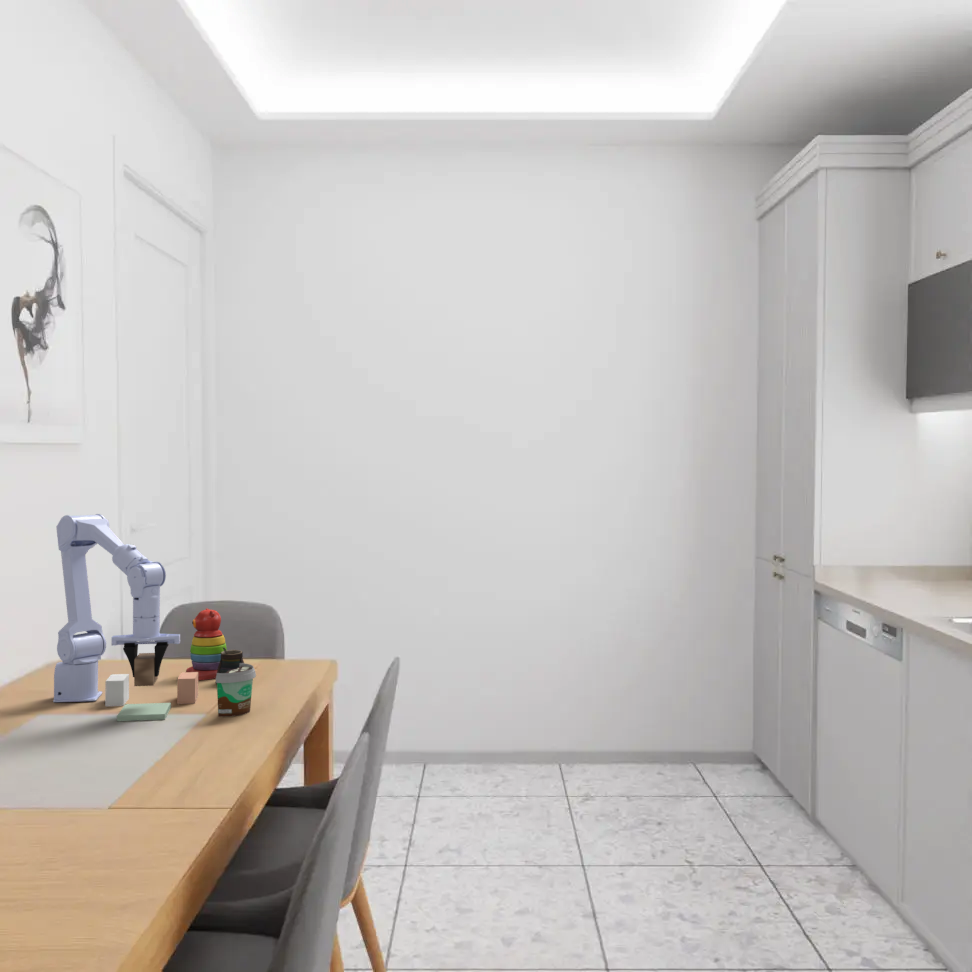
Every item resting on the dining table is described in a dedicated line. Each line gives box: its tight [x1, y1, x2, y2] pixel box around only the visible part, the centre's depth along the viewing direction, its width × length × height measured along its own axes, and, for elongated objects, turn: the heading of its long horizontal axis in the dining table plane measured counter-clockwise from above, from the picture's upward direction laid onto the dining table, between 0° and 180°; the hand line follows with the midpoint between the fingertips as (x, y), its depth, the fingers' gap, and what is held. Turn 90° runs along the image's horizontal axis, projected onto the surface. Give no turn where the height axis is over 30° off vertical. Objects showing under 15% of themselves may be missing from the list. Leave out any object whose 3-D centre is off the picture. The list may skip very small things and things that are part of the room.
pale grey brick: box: [104, 673, 130, 707], centre depth 219 cm, size 4×7×6 cm, turn 12°
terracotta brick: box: [176, 671, 199, 705], centre depth 223 cm, size 4×7×6 cm, turn 12°
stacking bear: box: [185, 607, 228, 682], centre depth 248 cm, size 11×10×18 cm
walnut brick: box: [133, 652, 159, 687], centre depth 210 cm, size 4×7×6 cm, turn 12°
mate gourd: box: [217, 647, 245, 673], centre depth 241 cm, size 7×8×10 cm
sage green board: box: [116, 702, 172, 722], centre depth 209 cm, size 10×10×1 cm
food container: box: [215, 662, 257, 718], centre depth 212 cm, size 12×6×10 cm, turn 168°
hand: (146, 676), depth 210 cm, fingers closed on walnut brick, 4 cm apart
